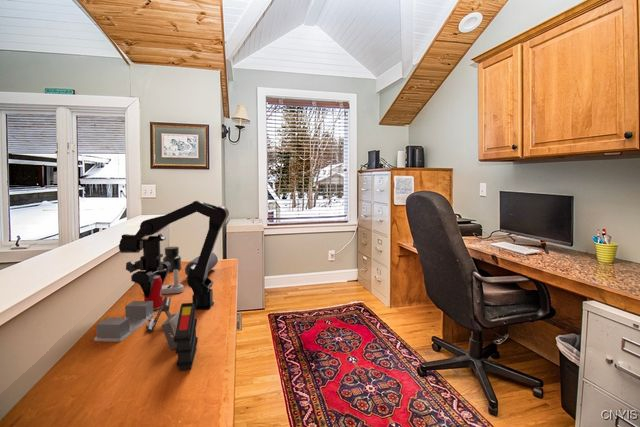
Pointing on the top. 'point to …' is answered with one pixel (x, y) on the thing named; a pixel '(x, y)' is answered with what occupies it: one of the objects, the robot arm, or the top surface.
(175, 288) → the electronic device
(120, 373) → the top surface
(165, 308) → the portable electronic device stand
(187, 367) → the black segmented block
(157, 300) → the beverage can
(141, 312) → the mounted modules
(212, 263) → the bluetooth speaker
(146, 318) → the rail
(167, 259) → the ink bottle
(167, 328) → the electrical switch
